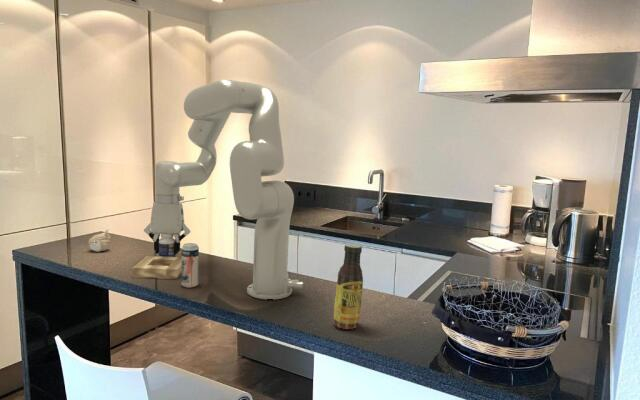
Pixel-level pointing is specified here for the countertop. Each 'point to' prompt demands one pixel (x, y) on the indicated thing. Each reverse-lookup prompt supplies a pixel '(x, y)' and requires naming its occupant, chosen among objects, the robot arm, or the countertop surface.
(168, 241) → the pill bottle
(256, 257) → the robot arm
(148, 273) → the socket block
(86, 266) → the countertop surface
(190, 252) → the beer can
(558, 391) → the countertop surface
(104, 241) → the garlic bulb
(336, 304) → the sauce bottle
